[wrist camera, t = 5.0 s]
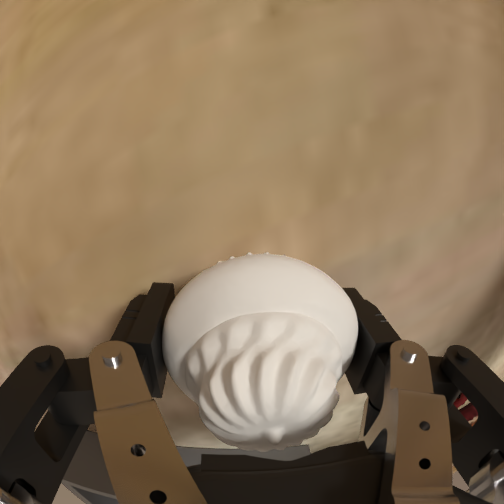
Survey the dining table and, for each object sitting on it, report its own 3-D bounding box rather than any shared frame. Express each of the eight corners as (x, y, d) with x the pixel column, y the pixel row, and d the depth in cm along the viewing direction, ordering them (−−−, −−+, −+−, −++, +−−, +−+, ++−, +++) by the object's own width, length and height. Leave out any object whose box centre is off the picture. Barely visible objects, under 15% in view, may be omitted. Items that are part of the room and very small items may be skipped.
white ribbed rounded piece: (216, 364, 13) (215, 497, 7) (150, 257, 11) (77, 392, 4) (338, 320, 13) (402, 443, 6) (300, 196, 10) (403, 286, 4)
